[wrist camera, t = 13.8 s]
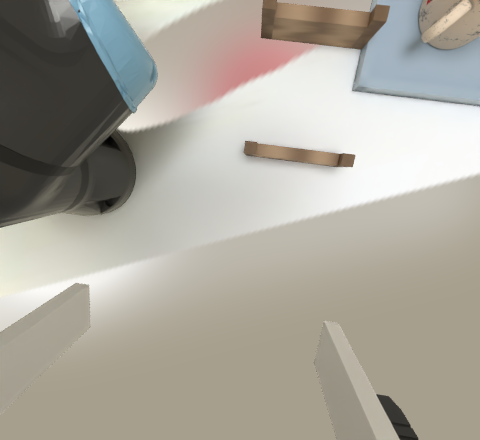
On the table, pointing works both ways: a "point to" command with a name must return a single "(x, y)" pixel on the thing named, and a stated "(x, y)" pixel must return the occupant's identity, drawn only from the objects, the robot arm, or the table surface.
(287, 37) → the walnut rack
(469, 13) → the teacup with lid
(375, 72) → the tray
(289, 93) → the table surface
